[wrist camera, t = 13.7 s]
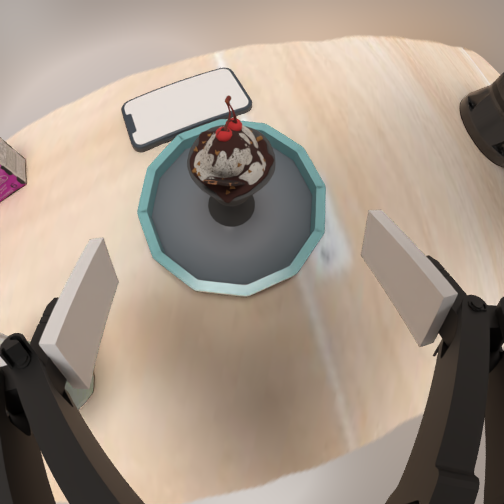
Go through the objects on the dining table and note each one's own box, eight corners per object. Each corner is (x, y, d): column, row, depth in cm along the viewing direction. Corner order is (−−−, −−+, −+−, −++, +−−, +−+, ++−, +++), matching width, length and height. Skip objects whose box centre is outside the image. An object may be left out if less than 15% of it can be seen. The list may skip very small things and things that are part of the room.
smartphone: (228, 72, 37) (122, 110, 35) (229, 64, 36) (119, 103, 33) (255, 113, 36) (137, 157, 34) (256, 106, 35) (133, 151, 32)
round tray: (272, 116, 35) (275, 102, 32) (345, 251, 32) (355, 245, 29) (128, 170, 33) (120, 159, 30) (185, 323, 30) (180, 325, 27)
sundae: (234, 165, 33) (237, 69, 18) (275, 208, 32) (307, 128, 17) (187, 200, 31) (156, 118, 17) (227, 247, 31) (223, 190, 16)
